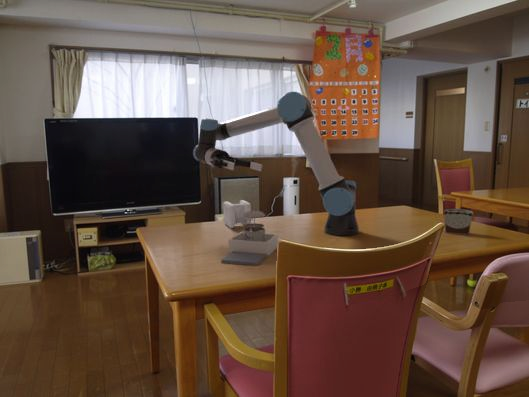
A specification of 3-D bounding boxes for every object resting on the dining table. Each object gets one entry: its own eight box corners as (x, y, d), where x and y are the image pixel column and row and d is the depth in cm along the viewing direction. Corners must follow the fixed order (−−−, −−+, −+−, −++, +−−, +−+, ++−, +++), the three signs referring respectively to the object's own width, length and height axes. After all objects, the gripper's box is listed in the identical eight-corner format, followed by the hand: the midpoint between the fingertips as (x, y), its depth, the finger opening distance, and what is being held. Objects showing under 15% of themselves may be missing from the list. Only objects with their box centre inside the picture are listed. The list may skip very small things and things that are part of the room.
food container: (472, 232, 188) (473, 209, 186) (472, 235, 182) (474, 212, 181) (442, 229, 193) (443, 207, 192) (441, 232, 188) (442, 210, 186)
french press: (247, 255, 154) (246, 186, 151) (236, 247, 165) (235, 183, 161) (272, 252, 158) (271, 185, 155) (259, 244, 169) (259, 182, 165)
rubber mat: (267, 256, 152) (267, 253, 152) (257, 265, 142) (257, 262, 142) (233, 253, 156) (233, 251, 156) (221, 262, 146) (221, 259, 146)
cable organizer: (252, 228, 200) (251, 203, 198) (230, 230, 196) (229, 205, 195) (243, 222, 214) (242, 199, 212) (222, 223, 210) (222, 200, 209)
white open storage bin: (278, 246, 166) (278, 234, 165) (268, 256, 153) (268, 242, 152) (241, 244, 170) (241, 231, 170) (228, 252, 158) (228, 239, 157)
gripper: (240, 168, 189) (270, 177, 174) (190, 165, 173) (219, 176, 158) (242, 151, 188) (273, 159, 172) (193, 147, 172) (222, 155, 156)
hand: (247, 167), depth 165 cm, fingers open, 13 cm apart
